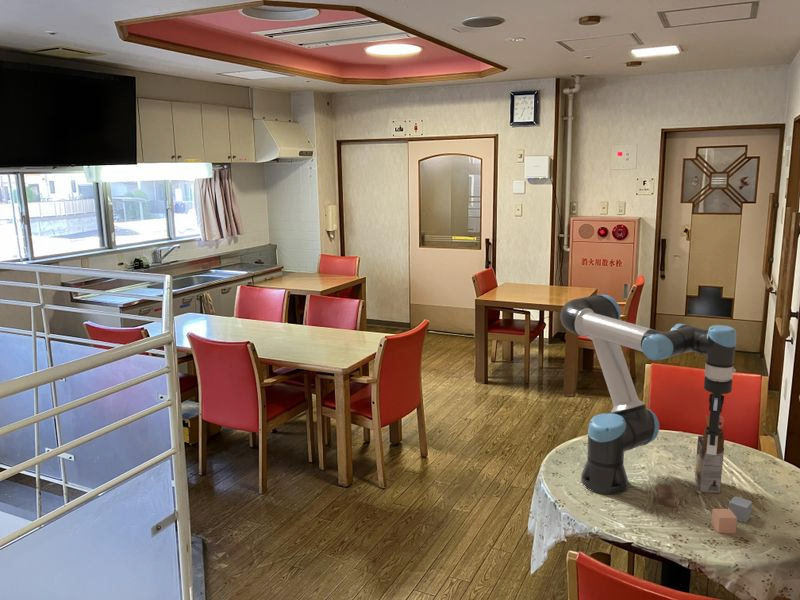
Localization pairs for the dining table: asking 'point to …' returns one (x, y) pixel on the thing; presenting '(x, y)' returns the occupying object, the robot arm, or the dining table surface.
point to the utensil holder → (720, 438)
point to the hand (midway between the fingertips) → (712, 449)
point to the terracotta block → (724, 520)
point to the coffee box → (708, 469)
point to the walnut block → (666, 495)
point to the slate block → (740, 508)
